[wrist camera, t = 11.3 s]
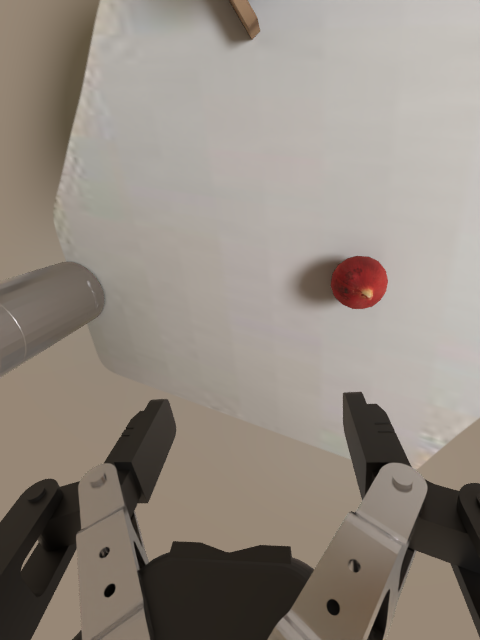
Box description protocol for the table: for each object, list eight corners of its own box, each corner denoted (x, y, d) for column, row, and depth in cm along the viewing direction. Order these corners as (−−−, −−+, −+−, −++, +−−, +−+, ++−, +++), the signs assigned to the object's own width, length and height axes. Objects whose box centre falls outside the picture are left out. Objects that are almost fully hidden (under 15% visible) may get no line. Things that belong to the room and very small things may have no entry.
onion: (325, 295, 38) (332, 319, 31) (331, 249, 36) (340, 264, 29) (373, 298, 37) (392, 323, 30) (382, 251, 35) (405, 267, 28)
